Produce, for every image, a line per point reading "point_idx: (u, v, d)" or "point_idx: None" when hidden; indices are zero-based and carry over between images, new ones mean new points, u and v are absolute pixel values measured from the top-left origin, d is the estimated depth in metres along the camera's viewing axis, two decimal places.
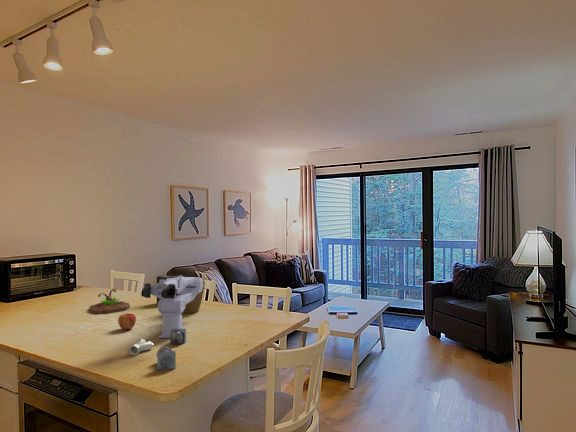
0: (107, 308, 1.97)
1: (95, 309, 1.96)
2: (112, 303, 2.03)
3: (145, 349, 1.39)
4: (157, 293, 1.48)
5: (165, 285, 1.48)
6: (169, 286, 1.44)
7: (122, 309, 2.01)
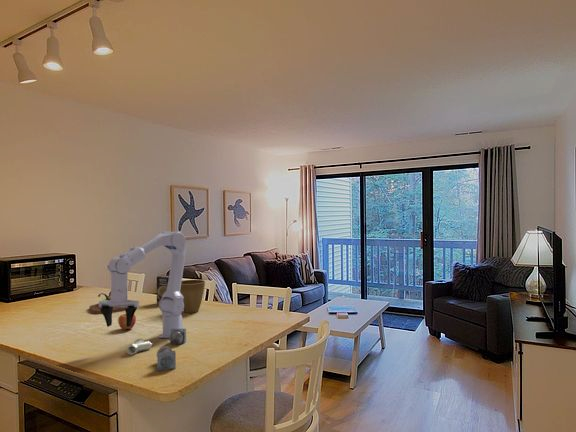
0: None
1: (95, 309, 1.97)
2: None
3: (143, 349, 1.39)
4: None
5: None
6: (127, 313, 1.37)
7: (122, 309, 2.01)
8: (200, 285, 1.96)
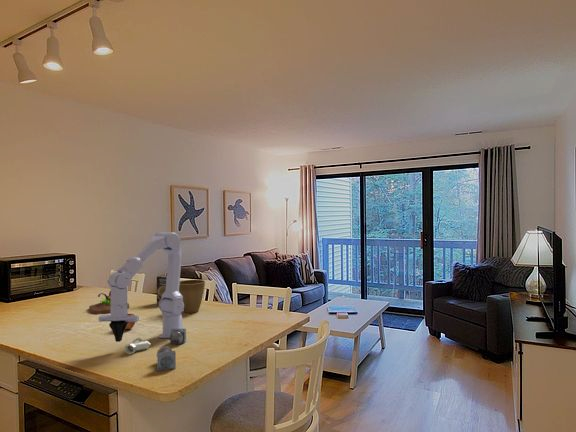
0: (106, 308, 1.97)
1: (95, 309, 1.97)
2: None
3: (141, 348, 1.40)
4: None
5: None
6: (118, 328, 1.37)
7: None
8: (200, 285, 1.96)
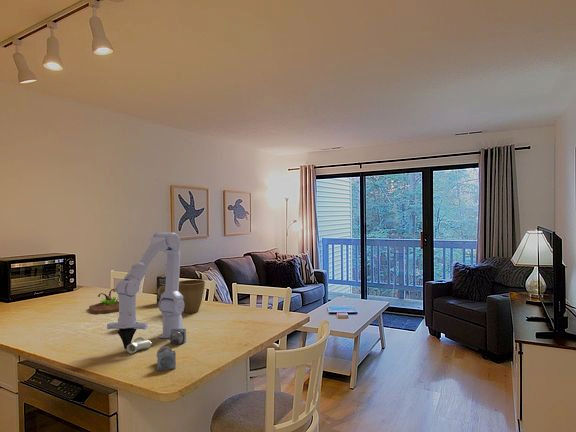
0: (107, 308, 1.98)
1: (95, 309, 1.97)
2: (112, 303, 2.03)
3: (143, 347, 1.40)
4: None
5: None
6: (127, 336, 1.37)
7: None
8: (200, 285, 1.96)
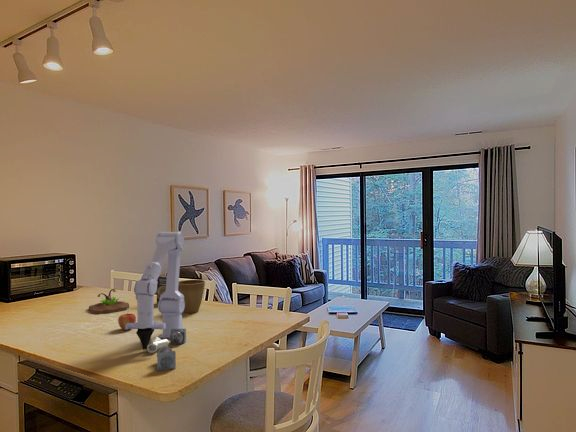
0: (107, 308, 1.98)
1: (95, 309, 1.97)
2: (112, 303, 2.04)
3: None
4: None
5: None
6: (145, 336, 1.37)
7: (122, 309, 2.01)
8: (200, 285, 1.96)
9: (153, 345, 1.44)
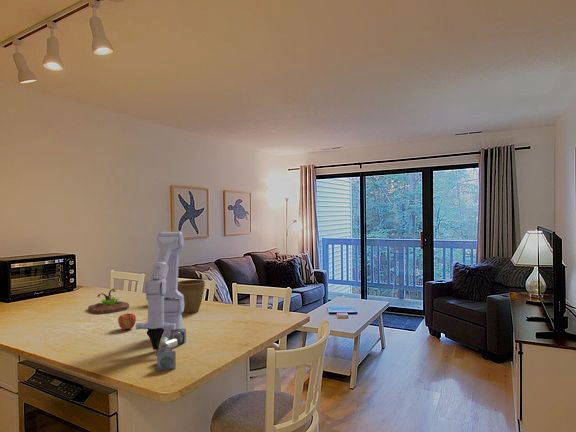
0: (108, 308, 1.98)
1: (96, 309, 1.96)
2: (112, 303, 2.04)
3: (172, 346, 1.42)
4: None
5: None
6: (156, 336, 1.37)
7: (123, 309, 2.02)
8: (200, 285, 1.96)
9: (162, 345, 1.44)
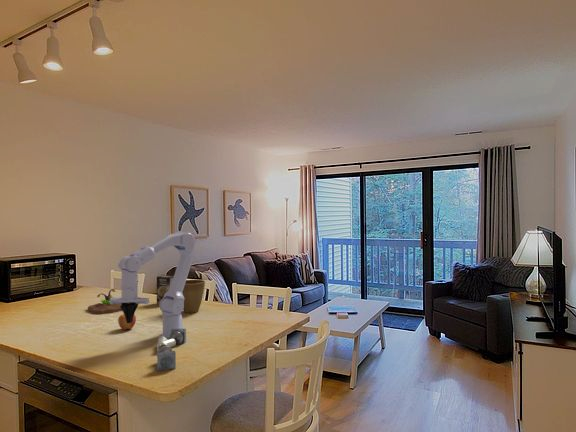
0: (109, 308, 1.98)
1: (97, 309, 1.96)
2: None
3: (170, 346, 1.42)
4: None
5: None
6: (129, 310, 1.42)
7: None
8: (200, 285, 1.96)
9: (160, 345, 1.44)
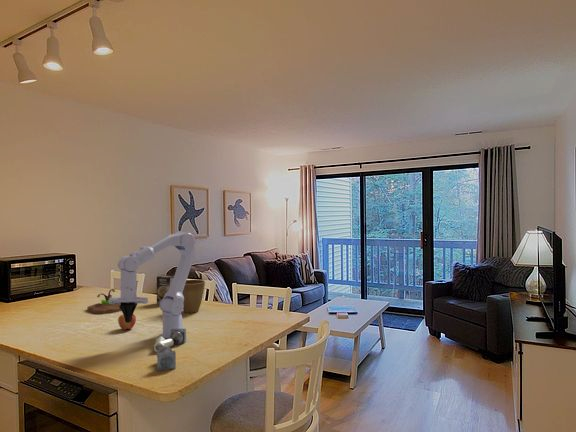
0: (110, 308, 1.98)
1: (97, 309, 1.96)
2: (112, 303, 2.04)
3: (168, 346, 1.42)
4: None
5: None
6: (128, 309, 1.43)
7: None
8: (200, 285, 1.96)
9: (158, 345, 1.44)
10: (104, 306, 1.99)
